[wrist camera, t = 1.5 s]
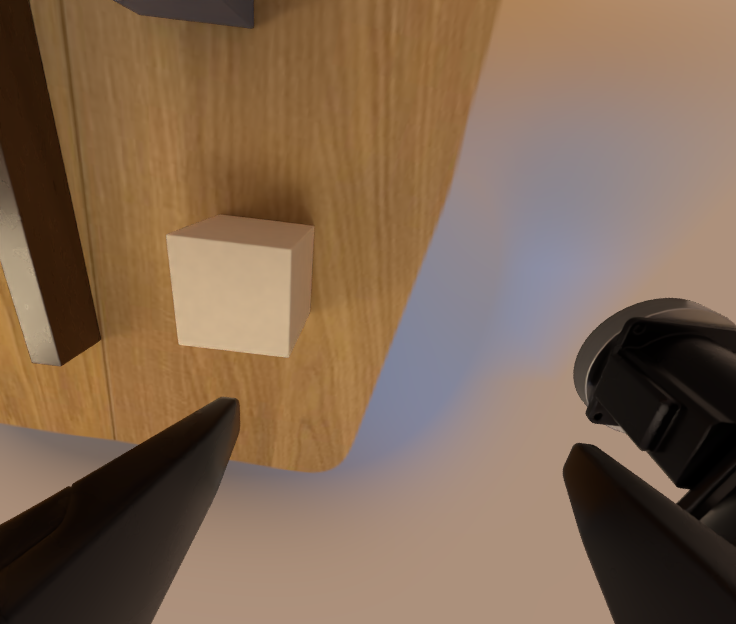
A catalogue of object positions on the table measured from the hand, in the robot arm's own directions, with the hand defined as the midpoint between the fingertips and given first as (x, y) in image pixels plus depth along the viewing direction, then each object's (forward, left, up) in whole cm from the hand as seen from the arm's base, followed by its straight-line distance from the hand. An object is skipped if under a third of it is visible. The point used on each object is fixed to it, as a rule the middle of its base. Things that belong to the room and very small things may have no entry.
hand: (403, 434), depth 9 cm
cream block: (+7, 0, -12) cm, 14 cm away
